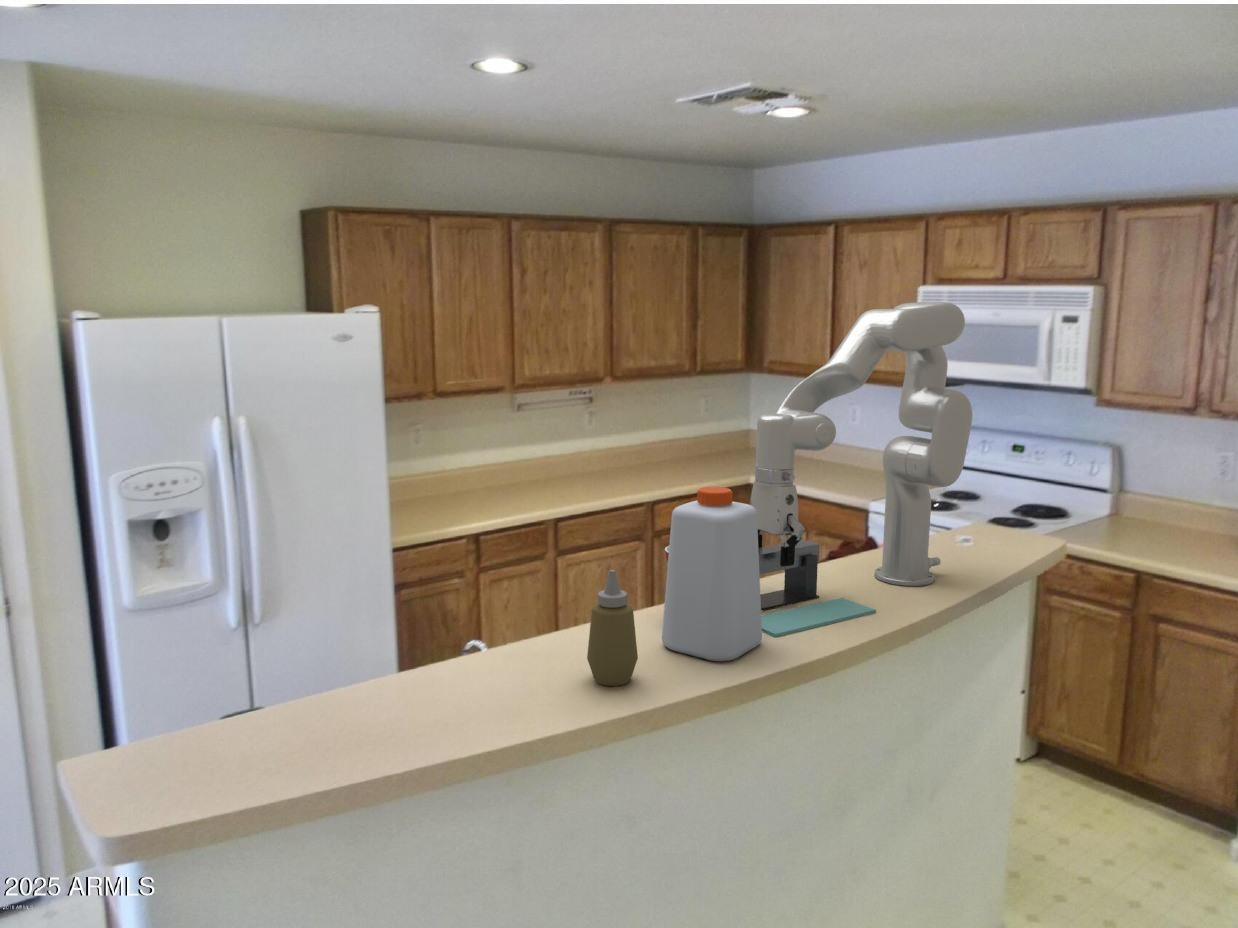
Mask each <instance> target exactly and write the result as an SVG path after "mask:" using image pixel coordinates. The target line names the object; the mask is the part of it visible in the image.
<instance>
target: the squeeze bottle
mask: <svg viewBox="0 0 1238 928" xmlns="http://www.w3.org/2000/svg"><path fill="white" fill-rule="evenodd" d="M606 577H607V578H606V582H605V587H604V589H603V590H599V592H598V593H597V604H596V605H595V606H593V608H592V609H591V615H590V624H589V637H588V646H587V655H586V656H587V657H586V659H587V663H588V665H589V667H590V671H591V674H592V677H593V679H594V682H595V683H597V684H600V685H603V686H605V687H606V686H608V687H617V686H623V685H626V684H628V683H629V682H630V681H631V679H632V677H633V673H634V670H635V667H636V664H637V661H638V659H639V658H638V657H639V655H638V654H639V653H638V646H637V635H636V626H635V617H634V616H635V615H634V609H633V607H632V606H631V605H630V604H628V593H627V592H626V590H622V589H621V587H620V581H619V577H618V573H617V570H616V569H610V570H608V573H607V576H606Z"/></svg>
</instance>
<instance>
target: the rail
mask: <svg viewBox="0 0 1238 928" xmlns="http://www.w3.org/2000/svg"><path fill="white" fill-rule="evenodd" d="M781 546H783V543H779V544H774V545H769V546H762V548H758V551H759V575H763V574H769V573H773V572H778V571H785V569H790V568H795V567H800V566H804V557H806V556H811V555H817V556H818V563H817V564H819V563H820V543H817V542H814V541H811V540H808V539H803V540H800V541H799V542H798V545H797V546H795V558H794V565H790V566H785V567H782V566H781V565H780V555H781Z"/></svg>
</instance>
